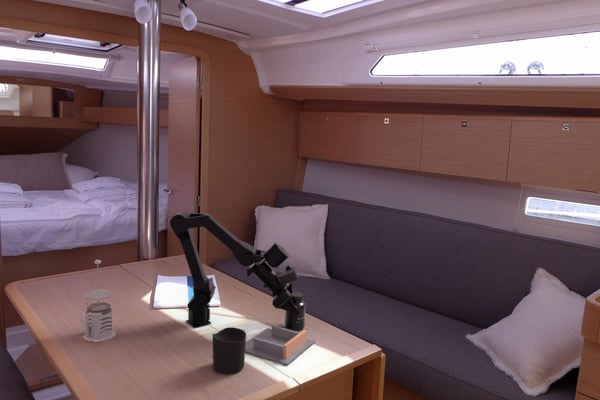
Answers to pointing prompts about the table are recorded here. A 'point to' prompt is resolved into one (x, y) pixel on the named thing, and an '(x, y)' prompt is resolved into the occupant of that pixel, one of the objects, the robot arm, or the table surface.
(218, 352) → the pen holder
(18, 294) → the table surface
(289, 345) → the bottle holder
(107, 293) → the french press
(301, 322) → the supplement bottle
